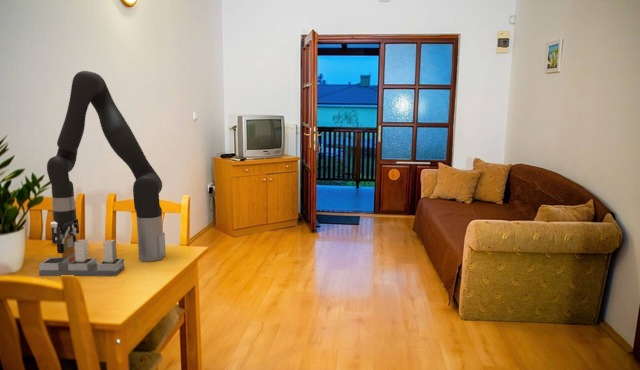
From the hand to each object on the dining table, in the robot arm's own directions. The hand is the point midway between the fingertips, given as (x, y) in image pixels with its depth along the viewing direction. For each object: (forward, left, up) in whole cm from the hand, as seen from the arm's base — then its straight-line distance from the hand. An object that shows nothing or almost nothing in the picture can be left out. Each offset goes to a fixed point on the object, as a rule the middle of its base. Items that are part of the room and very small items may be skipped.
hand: (67, 249), depth 165 cm
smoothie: (+14, -20, -5) cm, 25 cm away
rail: (-11, +11, -5) cm, 16 cm away
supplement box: (0, 0, -5) cm, 5 cm away
